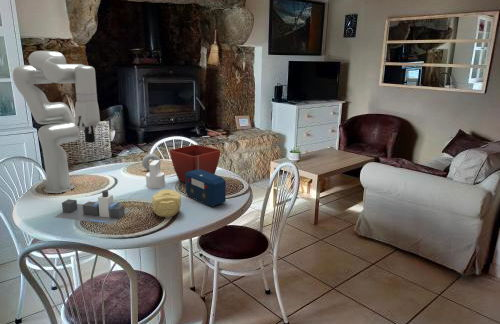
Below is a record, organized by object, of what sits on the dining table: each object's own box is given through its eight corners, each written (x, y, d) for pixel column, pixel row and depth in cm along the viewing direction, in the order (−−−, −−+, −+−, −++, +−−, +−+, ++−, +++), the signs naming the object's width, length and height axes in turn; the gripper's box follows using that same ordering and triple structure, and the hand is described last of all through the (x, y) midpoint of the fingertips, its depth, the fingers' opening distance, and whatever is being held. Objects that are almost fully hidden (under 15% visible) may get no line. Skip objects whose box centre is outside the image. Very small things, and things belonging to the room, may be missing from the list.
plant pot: (196, 173, 206) (196, 143, 201) (221, 180, 194) (221, 149, 190) (169, 181, 192) (168, 149, 187) (194, 189, 180) (194, 156, 175)
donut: (143, 172, 205) (142, 155, 202) (142, 170, 208) (141, 153, 205) (161, 170, 208) (160, 153, 206) (160, 169, 211) (159, 152, 209)
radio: (183, 195, 172) (182, 154, 166) (198, 191, 178) (197, 151, 172) (211, 209, 158) (211, 164, 152) (227, 203, 164) (227, 161, 158)
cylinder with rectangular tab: (162, 188, 180) (161, 165, 177) (144, 188, 181) (142, 164, 177) (166, 182, 189) (165, 160, 186) (149, 182, 189) (148, 159, 186)
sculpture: (153, 221, 145) (151, 196, 142) (152, 209, 156) (151, 185, 153) (182, 218, 148) (181, 193, 145) (179, 207, 159) (178, 183, 156)
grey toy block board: (54, 220, 143) (52, 205, 142) (77, 206, 156) (76, 192, 155) (112, 227, 139) (111, 211, 137) (131, 213, 152) (130, 198, 150)
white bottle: (99, 216, 144) (97, 192, 142) (105, 212, 148) (103, 189, 146) (108, 217, 144) (106, 193, 141) (114, 213, 148) (112, 190, 145)
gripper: (90, 95, 154) (93, 137, 160) (65, 99, 140) (70, 145, 146) (106, 96, 153) (108, 139, 158) (83, 100, 139) (86, 147, 144)
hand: (90, 142), depth 152 cm, fingers closed
